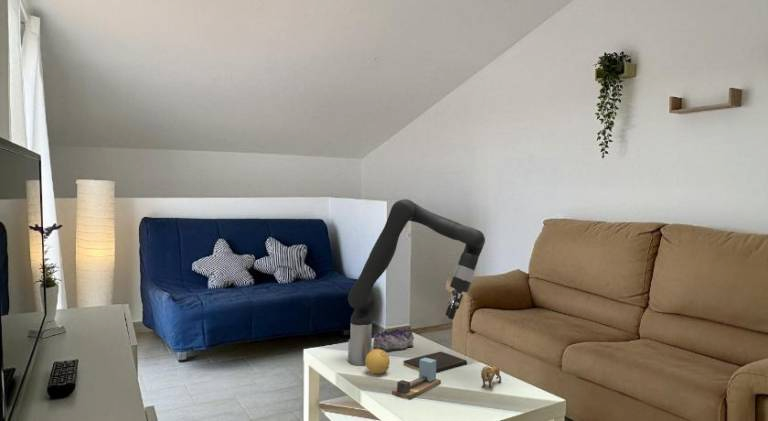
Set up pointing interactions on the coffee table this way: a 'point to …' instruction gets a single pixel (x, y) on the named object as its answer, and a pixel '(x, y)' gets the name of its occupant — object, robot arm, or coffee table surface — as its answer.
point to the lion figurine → (490, 375)
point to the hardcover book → (437, 361)
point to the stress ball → (377, 361)
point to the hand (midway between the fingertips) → (449, 317)
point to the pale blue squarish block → (427, 369)
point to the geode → (393, 340)
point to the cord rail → (414, 387)
